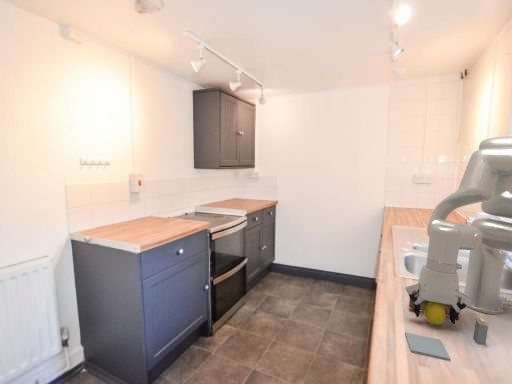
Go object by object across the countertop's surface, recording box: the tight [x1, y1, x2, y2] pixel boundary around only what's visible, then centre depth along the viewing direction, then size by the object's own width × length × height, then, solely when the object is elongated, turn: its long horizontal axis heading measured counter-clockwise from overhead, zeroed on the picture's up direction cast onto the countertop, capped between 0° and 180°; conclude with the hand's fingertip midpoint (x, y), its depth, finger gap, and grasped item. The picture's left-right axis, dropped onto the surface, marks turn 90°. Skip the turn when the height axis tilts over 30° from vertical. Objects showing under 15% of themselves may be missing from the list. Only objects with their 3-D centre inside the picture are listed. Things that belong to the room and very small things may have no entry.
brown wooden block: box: [408, 290, 452, 317], centre depth 91 cm, size 12×2×6 cm, turn 71°
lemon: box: [423, 302, 447, 326], centre depth 85 cm, size 6×6×8 cm
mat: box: [404, 331, 451, 362], centre depth 75 cm, size 9×8×1 cm
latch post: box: [472, 318, 489, 346], centre depth 77 cm, size 2×2×7 cm
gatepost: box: [457, 296, 462, 321], centre depth 89 cm, size 2×2×9 cm
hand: (433, 318), depth 85 cm, fingers open, 9 cm apart
